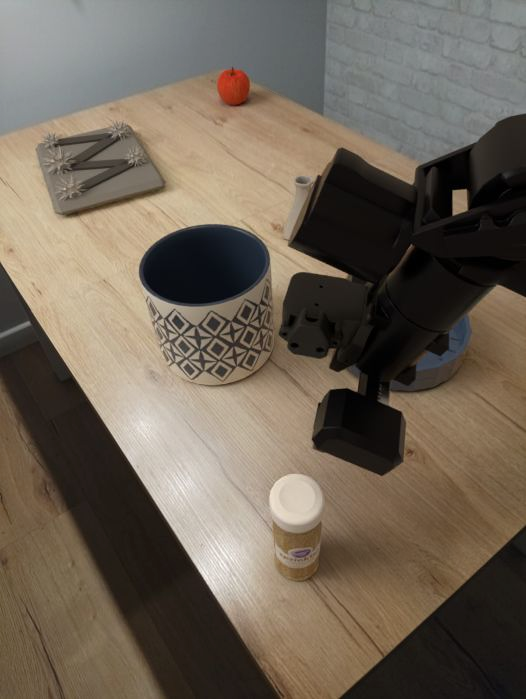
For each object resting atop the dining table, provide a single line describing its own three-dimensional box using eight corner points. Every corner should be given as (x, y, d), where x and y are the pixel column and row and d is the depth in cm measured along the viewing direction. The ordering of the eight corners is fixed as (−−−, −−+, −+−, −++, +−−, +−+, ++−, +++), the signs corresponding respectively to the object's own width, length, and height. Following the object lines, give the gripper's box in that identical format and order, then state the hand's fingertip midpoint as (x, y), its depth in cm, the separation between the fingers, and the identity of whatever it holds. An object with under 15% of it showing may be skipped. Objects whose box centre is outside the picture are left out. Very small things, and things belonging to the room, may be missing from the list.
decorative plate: (169, 191, 101) (162, 156, 95) (58, 221, 95) (44, 186, 90) (131, 131, 120) (123, 99, 114) (37, 153, 114) (24, 121, 109)
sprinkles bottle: (286, 590, 50) (282, 533, 40) (267, 547, 53) (259, 483, 43) (328, 570, 51) (335, 509, 41) (307, 529, 54) (309, 463, 44)
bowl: (490, 359, 68) (500, 335, 64) (385, 414, 63) (390, 391, 59) (405, 286, 78) (410, 262, 75) (309, 329, 73) (310, 305, 70)
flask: (328, 223, 90) (331, 171, 83) (318, 248, 86) (319, 194, 78) (289, 218, 92) (288, 165, 85) (276, 241, 88) (274, 188, 80)
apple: (231, 93, 131) (228, 59, 125) (257, 99, 128) (255, 64, 122) (212, 104, 127) (207, 70, 121) (238, 111, 124) (234, 76, 118)
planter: (188, 406, 65) (166, 326, 55) (145, 330, 75) (120, 249, 64) (296, 357, 70) (295, 274, 59) (242, 291, 79) (233, 210, 69)
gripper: (337, 179, 41) (269, 303, 53) (289, 350, 29) (215, 461, 41) (459, 238, 42) (366, 346, 54) (462, 426, 30) (341, 512, 42)
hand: (326, 406), depth 48 cm, fingers open, 9 cm apart
